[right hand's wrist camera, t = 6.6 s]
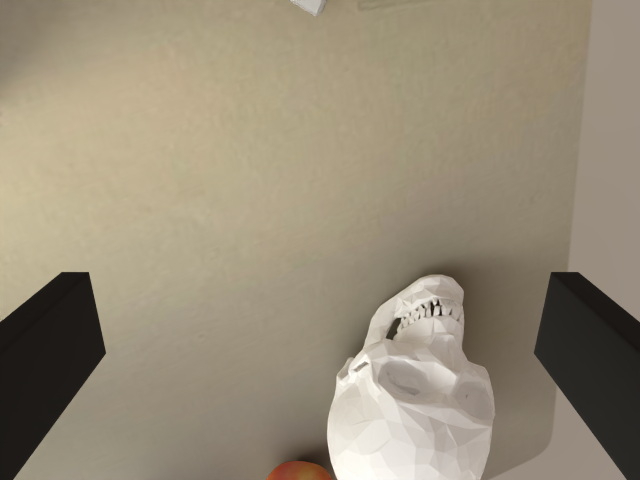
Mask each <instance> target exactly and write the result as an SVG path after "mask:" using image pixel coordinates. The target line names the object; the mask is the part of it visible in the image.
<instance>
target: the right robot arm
mask: <svg viewBox="0 0 640 480" xmlns="http://www.w3.org/2000/svg"><path fill="white" fill-rule="evenodd" d="M105 354H106V351H105V346H104V341H103V337H102V332H101V327H100V322H99V318H98V313H97V308H96V304H95V299H94V294H93V289H92V285H91V280H90V275H89V272H61V273H60V274H59V275H58V276H57V277H55V278H54V279H53V280H52V281H50V282H49V283H48V284H47V285H45V286H44V287H43V288H42V289H41V290H39V291H38V292H37V293H36V294H34V295H33V296H32V297H31V298H29V299H28V300H27V301H26V302H25V303H23V304H22V305H21V306H20V307H18V308H17V309H16V310H15V311H13V312H12V313H11V314H10V315H9V316H7V317H6V318H5V319H4V320H2V321H1V322H0V480H13V479H14V478H15V476H16V475H17V474H18V472H19V471H20V470H21V468H22V467H23V466H24V464H25V463H26V461H27V460H28V459H29V457H30V456H31V455H32V453H33V452H34V451H35V449H36V448H37V447H38V445H39V444H40V442H41V441H42V440H43V438H44V437H45V436H46V434H47V433H48V432H49V430H50V429H51V427H52V426H53V425H54V423H55V422H56V421H57V419H58V418H59V417H60V415H61V414H62V413H63V411H64V410H65V408H66V407H67V406H68V404H69V403H70V402H71V400H72V399H73V398H74V396H75V395H76V393H77V392H78V391H79V389H80V388H81V387H82V385H83V384H84V383H85V381H86V380H87V379H88V377H89V376H90V374H91V373H92V372H93V370H94V369H95V368H96V366H97V365H98V364H99V362H100V361H101V359H102V358H103V357H104V355H105ZM534 354H535V355H536V357H537V358H538V359H539V361H540V362H541V364H542V365H543V366H544V368H545V369H546V370H547V372H548V373H549V374H550V376H551V377H552V379H553V380H554V381H555V383H556V384H557V385H558V387H559V388H560V389H561V391H562V392H563V393H564V395H565V396H566V398H567V399H568V400H569V401H570V403H571V404H572V406H573V407H574V408H575V410H576V411H577V413H578V414H579V415H580V417H581V418H582V419H583V421H584V422H585V423H586V425H587V426H588V427H589V429H590V430H591V432H592V433H593V434H594V436H595V437H596V438H597V440H598V441H599V442H600V444H601V445H602V447H603V448H604V449H605V451H606V452H607V453H608V455H609V456H610V457H611V459H612V460H613V461H614V463H615V464H616V466H617V467H618V468H619V470H620V471H621V472H622V474H623V475H624V476H625V478H626V479H627V480H640V322H639V321H638V320H636V319H635V318H634V317H633V316H631V315H630V314H629V313H628V312H627V311H625V310H624V309H623V308H622V307H620V306H619V305H618V304H617V303H615V302H614V301H613V300H612V299H611V298H609V297H608V296H607V295H606V294H604V293H603V292H602V291H601V290H599V289H598V288H597V287H596V286H595V285H593V284H592V283H591V282H590V281H588V280H587V279H586V278H585V277H583V276H582V275H581V274H580V273H578V272H551V275H550V280H549V285H548V289H547V294H546V299H545V304H544V308H543V313H542V318H541V322H540V327H539V332H538V337H537V341H536V346H535V351H534Z"/></svg>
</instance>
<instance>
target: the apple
mask: <svg viewBox="0 0 640 480" xmlns="http://www.w3.org/2000/svg"><path fill="white" fill-rule="evenodd" d="M266 480H333V479H332V477H331V476H330V474H329V473H328V471H327V470H326V469H325V468H323V467H322V466H320V465H317V464H314V463H310V462H305V461H290V462H286V463H283V464H281V465H279V466H277V467H276V468H275V469H274V470H273V471H272V472H271V473H270V475H269V476H268V478H267V479H266Z"/></svg>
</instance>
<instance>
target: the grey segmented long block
mask: <svg viewBox="0 0 640 480" xmlns="http://www.w3.org/2000/svg"><path fill="white" fill-rule="evenodd" d="M289 1H291V2H292V3H294V4H296V5H297V6H299V7H301V8H302V9H304V10H306V11H307V12H309V13H311V14H312V15H314V16H318V15H320V14H321V13H322V12H323V9H324V7H325V4H326V1H327V0H289Z"/></svg>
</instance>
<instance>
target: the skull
mask: <svg viewBox="0 0 640 480" xmlns="http://www.w3.org/2000/svg"><path fill="white" fill-rule="evenodd" d="M463 296H464V291H463V289H462V288H461V287H460V286H459V284H458V283H457V282H456V281H455V280H454V279H453V278H451V277H448V276H445V275H428V276H425V277H422V278H419V279H418V280H417V281H415V282H414V283H412V284H411V285H410V286H408V287H407V288H405V289H404V290H403V291H401V292H400V293H398V294H397V295H395V296H394V297H392V298H391V299H389V300H388V301H387V302H385V303H384V304H382V305H381V306H380V307H379V308H378V310H377V311H376V313H375V314H374V316H373V317H372V319H371V323H370V327H369V330H368V334H367V337H366V339H365V344H364V347H363V349H362V351H361V352H360V353H359V354H358V355H357V356H356V357H355V358H354V357H350V358H349V359H348V360H347V362H346V364H345V365H344V367H343V368H342V369H341V370H340V371H339V372H338V373H337V385H336V391H335V397H334V399H333V402H332V405H331V408H330V413H329V417H328V429H327V440H328V447H329V453H330V459H331V463H332V466H333V469H334V472H335V475H336V477H337V479H338V480H480V479H481V476H482V473H483V471H484V467H485V464H486V461H487V458H488V454H489V451H490V443H491V433H492V423H493V420H494V417H495V406H494V396H493V391H492V386H491V382H490V378H489V374H488V372H487V371H486V369H485V368H484V367H483V366H479V365H476V364H474V363H472V362H469V361H468V360H467V358H466V356H465V354H464V353H463V351H462V341H463V334H464V314H463V313H464V311H463V306H462V302H463ZM437 301H439V302H440V306H441V305H442V306H441V310H442V316H438V315H439V313H440V306H435V305H436V304H437ZM431 302H433V305H434V306H435V309H434V315H433V316H431V310H430V308H431V306H430V303H431ZM422 306H425V308H426V309H427V311H426V317H425V308H424V309H423V307H422ZM450 312H451V315H449V313H450ZM419 316H420V319H419ZM405 317H406V319H405ZM396 318H402V319H401V323H400V325H399V327H398V329H397V332H398V333H397V334H396V335H395V336H394V338H393V340H390V339H386V336H387V334H388V332H389V330H390V327H391V325H392V323H393V322H394V320H395V319H396Z"/></svg>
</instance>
